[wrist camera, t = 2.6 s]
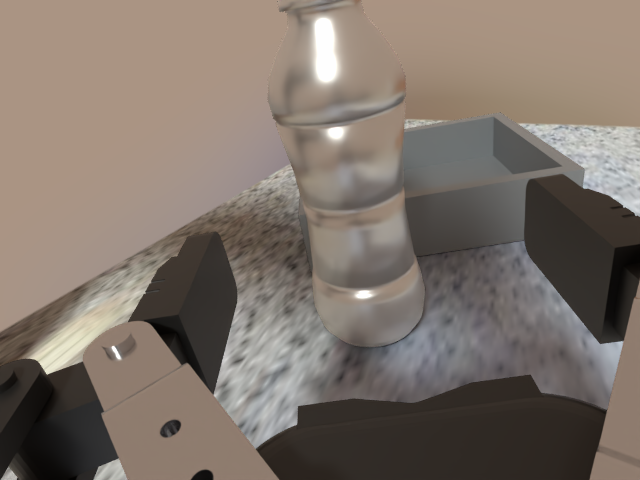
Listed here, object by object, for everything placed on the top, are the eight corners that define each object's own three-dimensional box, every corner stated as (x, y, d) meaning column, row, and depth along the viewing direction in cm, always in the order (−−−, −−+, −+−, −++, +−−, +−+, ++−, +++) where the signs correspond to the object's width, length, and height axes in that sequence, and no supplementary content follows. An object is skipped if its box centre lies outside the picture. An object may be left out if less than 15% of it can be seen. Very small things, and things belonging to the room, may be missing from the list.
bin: (311, 272, 35) (298, 215, 32) (311, 190, 49) (303, 146, 46) (577, 232, 33) (584, 168, 31) (499, 159, 47) (500, 112, 45)
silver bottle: (416, 371, 24) (374, -65, 15) (304, 353, 27) (207, -25, 17) (436, 298, 29) (414, -63, 20) (339, 289, 32) (279, -32, 22)
